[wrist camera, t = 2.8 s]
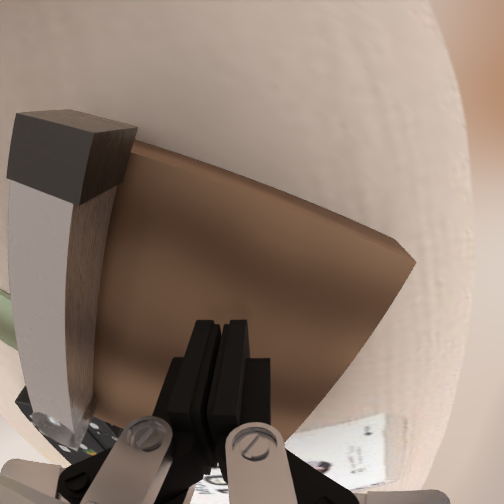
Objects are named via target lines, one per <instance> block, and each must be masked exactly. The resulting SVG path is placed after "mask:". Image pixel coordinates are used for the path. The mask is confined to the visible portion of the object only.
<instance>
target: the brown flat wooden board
mask: <svg viewBox="0 0 504 504" xmlns="http://www.w3.org/2000/svg"><path fill="white" fill-rule="evenodd" d="M415 264H416V261H415V260H414V259H413V258H412V257H411V256H410V255H409V254H408V253H407V252H406V251H405V249H404V248H403V247H402V246H401V245H400V244H399V243H398V242H397V241H396V240H395V239H393V238H391V237H388V236H386V235H384V234H382V233H380V232H378V231H375V230H373V229H371V228H369V227H366V226H364V225H362V224H360V223H357V222H355V221H353V220H351V219H348V218H346V217H344V216H341V215H339V214H337V213H334V212H332V211H330V210H327V209H325V208H323V207H320V206H318V205H315V204H313V203H310V202H308V201H306V200H303V199H301V198H298V197H296V196H293V195H291V194H288V193H286V192H283V191H281V190H278V189H275V188H273V187H270V186H268V185H265V184H262V183H260V182H257V181H254V180H252V179H249V178H246V177H244V176H241V175H238V174H235V173H233V172H230V171H227V170H224V169H222V168H219V167H216V166H213V165H210V164H207V163H204V162H202V161H199V160H196V159H193V158H190V157H187V156H184V155H181V154H178V153H175V152H172V151H168V150H165V149H162V148H159V147H156V146H153V145H150V144H146V143H143V142H140V141H136V140H134V143H133V146H132V150H131V153H130V157H129V161H128V165H127V168H126V172H125V176H124V180H123V183H121V184H119V185H117V188H116V192H115V197H114V202H113V206H112V211H111V216H110V222H109V227H108V232H107V238H106V244H105V250H104V257H103V264H102V271H101V278H100V286H99V295H98V304H97V315H96V327H95V343H94V365H93V396H94V397H95V399H96V401H97V405H98V406H97V409H96V411H95V414H94V417H96V418H98V419H100V420H103V421H105V422H108V423H110V424H112V425H115V426H117V427H120V428H122V429H124V428H125V427H126V426H127V424H128V423H130V422H131V421H133V420H134V419H136V418H139V417H143V416H152V414H153V411H154V408H155V406H156V403H157V400H158V397H159V394H160V391H161V389H162V386H163V383H164V380H165V377H166V375H167V372H168V369H169V366H170V364H171V361H172V359H173V358H174V357H184V355H185V352H186V349H187V346H188V343H189V340H190V337H191V334H192V331H193V328H194V325H195V322H196V320H214V323H215V324H220V328H221V335H222V331H223V326H224V324H229V323H230V320H243V319H247V322H248V334H249V347H250V358H270V363H271V426H272V427H274V428H276V429H277V430H278V431H279V432H280V434H281V436H282V438H283V441H284V443H285V442H286V440H287V439H288V438H289V437H290V436H291V435H292V434H293V433H294V432H295V431H296V430H297V428H298V427H299V426H300V425H301V424H302V423H303V422H304V420H305V419H306V418H307V417H308V416H309V415H310V414H311V412H312V411H313V410H314V409H315V408H316V406H317V405H318V404H319V403H320V402H321V400H322V399H323V398H324V397H325V396H326V394H327V393H328V392H329V391H330V389H331V388H332V387H333V386H334V384H335V383H336V382H337V381H338V379H339V378H340V377H341V375H342V374H343V373H344V371H345V370H346V369H347V367H348V366H349V365H350V363H351V362H352V361H353V359H354V358H355V357H356V355H357V354H358V353H359V351H360V350H361V348H362V347H363V346H364V344H365V343H366V341H367V340H368V338H369V337H370V336H371V334H372V333H373V331H374V330H375V328H376V327H377V325H378V324H379V322H380V321H381V319H382V318H383V316H384V315H385V313H386V312H387V310H388V309H389V307H390V305H391V304H392V302H393V301H394V299H395V297H396V296H397V294H398V293H399V291H400V289H401V288H402V286H403V284H404V283H405V281H406V279H407V278H408V276H409V274H410V273H411V271H412V269H413V267H414V266H415ZM0 340H2V341H3V342H5V343H6V344H8V345H9V346H11V347H13V348H14V349H16V350H18V346H17V340H16V334H15V328H14V321H13V313H12V305H11V295H9V294H7V293H5V292H4V291H2V290H0Z"/></svg>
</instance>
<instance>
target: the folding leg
mask: <svg viewBox="0 0 504 504" xmlns="http://www.w3.org/2000/svg"><path fill="white" fill-rule="evenodd" d="M137 129H138V127H135V126H131V125H128V124H124V123H120V122H117V121H113V120H109V119H106V118H102V117H98V116H94V115H90V114H86V113H82V112H78V111H74V110H50V111H35V112H24V113H16V117H15V122H14V127H13V133H12V139H11V146H10V152H9V160H8V169H7V178H8V179H10V192H9V208H8V267H9V283H10V295H11V305H12V313H13V321H14V328H15V334H16V340H17V346H18V351H19V356H20V361H21V366H22V371H23V375H24V379H25V383H26V387H27V391H28V395H29V398H30V402H31V405H32V409H33V413H32V415H31V416H32V420H33V421H34V423H35V424H36V426H37V427H38V428H39V431H40V432H41V433H42V434H44V435H46V436H48V437H50V438H51V439H53V440H55V441H56V442H58V443H60V444H62V445H65V446H67V447H69V448H71V449H73V450H75V451H78V449H79V446H80V444H81V442H82V440H83V438H84V435H85V433H86V431H87V429H88V427H89V424H90V422H91V420H92V418H93V416H94V414H95V411H96V409H97V406H98V405H97V401H96V399H95V397H94V396H93V365H94V343H95V327H96V315H97V304H98V295H99V286H100V278H101V271H102V264H103V257H104V250H105V244H106V238H107V232H108V227H109V222H110V216H111V211H112V206H113V202H114V197H115V192H116V188H117V185H119V184H121V183H123V180H124V176H125V172H126V168H127V165H128V161H129V157H130V153H131V150H132V146H133V143H134V139H135V136H136V132H137Z"/></svg>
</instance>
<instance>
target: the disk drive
mask: <svg viewBox="0 0 504 504" xmlns="http://www.w3.org/2000/svg"><path fill="white" fill-rule="evenodd" d="M15 403H16V404H17V405H18V407H19V408H20V410H21V411H22V413H23V414H24V415H25V416H26V417H27V418H28V420H29V421H30V422H32V423H33V425H34V426H35V428H37V430H38V431H39V428H38V427H37V426H36V424H35V423H34V421H33V420H32V416H31V415H32V413H33V409H32V405H31V402H30V398H29V395H28V391H27V387H26V386H25V387H24V388H23V390H22V391H21V393H20V394H19V396H18V397H17V399H16V400H15ZM123 430H124V429H122V428H120V427H117V426H115V425H112V424H110V423H108V422H105V421H103V420H100V419H98V418H96V417H94V416H93V418H92V420H91V422H90V424H89V427H88V429H87V431H86V433H85V435H84V438H83V440H82V442H81V444H80V446H79V449H78V451H75V450H73V449H71V448H69V447H67V446H65V445H62V444H60V443H58V442H56V441H55V440H53V439H51V438H50V437H48V436H46V435H44V434H42V433H41V432H40V431H39V432H40V433H41V434H42V435H43V436H44V437H45V438H46V439H47V440H48V441H49V443H50V444H52V446H53V447H54V448H55V449H56V450H57V451H59V453H60V454H61V455H62V456H63V457H65V459H66V460H67V461H69V462H70V463H71V464H72V465H73V464H75V463H77V462H80V461H82V460H84V459H87V458H89V457H91V456H93V455H96V454H98V453H100V452H102V451H104V450H106V449H108V448H111V447H113V446H114V445H115V443H116V441H117V440H118V438H119V436H120V435H121V433H122V431H123Z"/></svg>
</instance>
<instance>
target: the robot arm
mask: <svg viewBox="0 0 504 504" xmlns="http://www.w3.org/2000/svg"><path fill="white" fill-rule="evenodd" d="M218 463H219V467H220V470H221V473H222V476H223V479H224V481H225V482H226V483H227V484H228V489H229V501H230V504H450V500H449V498H448V497H447V496H446V494H445V493H443V492H441V491H439V490H418V491H393V492H371V491H368V492H367V494H359V493H352V492H351V491H349V490H348V489H346V488H344V487H343V486H341V485H340V484H338V483H336V482H335V481H333V480H332V479H330V478H328V477H327V476H325V475H324V474H322V473H321V472H319V471H318V470H316V469H315V468H313V467H312V466H310V465H309V464H307V463H306V462H304V461H303V460H301V459H300V458H298V457H297V456H295V455H294V454H293V453H291V452H290V451H288V450H287V449H286V448H285V445H284V441H283V438H282V436H281V434H280V432H279V431H278V430H277V429H276V428H274V427H272V426H271V363H270V358H250V347H249V334H248V322H247V319H243V320H230V323H229V324H224V326H223V331H222V335H221V328H220V324H215V323H214V320H196V322H195V325H194V328H193V331H192V334H191V337H190V340H189V343H188V346H187V349H186V352H185V355H184V357H174V358H173V359H172V361H171V364H170V366H169V369H168V372H167V375H166V377H165V380H164V383H163V386H162V389H161V391H160V394H159V397H158V400H157V403H156V406H155V408H154V411H153V414H152V416H143V417H139V418H136V419H134V420H133V421H131V422H130V423H128V424H127V426H126V427H125V428H124V430H123V431H122V433H121V435H120V436H119V438H118V440H117V441H116V443H115V445H114V446H113V447H111V448H108V449H106V450H104V451H102V452H100V453H98V454H96V455H93V456H91V457H89V458H87V459H84V460H82V461H80V462H77V463H75V464H73V465H71V466H69V467H67V468H63V467H62V466H61V465H53V464H46V463H39V462H33V461H26V460H21V459H11V460H9V461H7V462H6V463H5V464H4V466H3V468H2V470H1V473H0V504H190V501H191V498H192V496H193V493H194V490H195V485H196V483H197V482H199V481H201V480H202V479H203V475H204V474H205V475H210V472H211V467H217V464H218Z"/></svg>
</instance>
